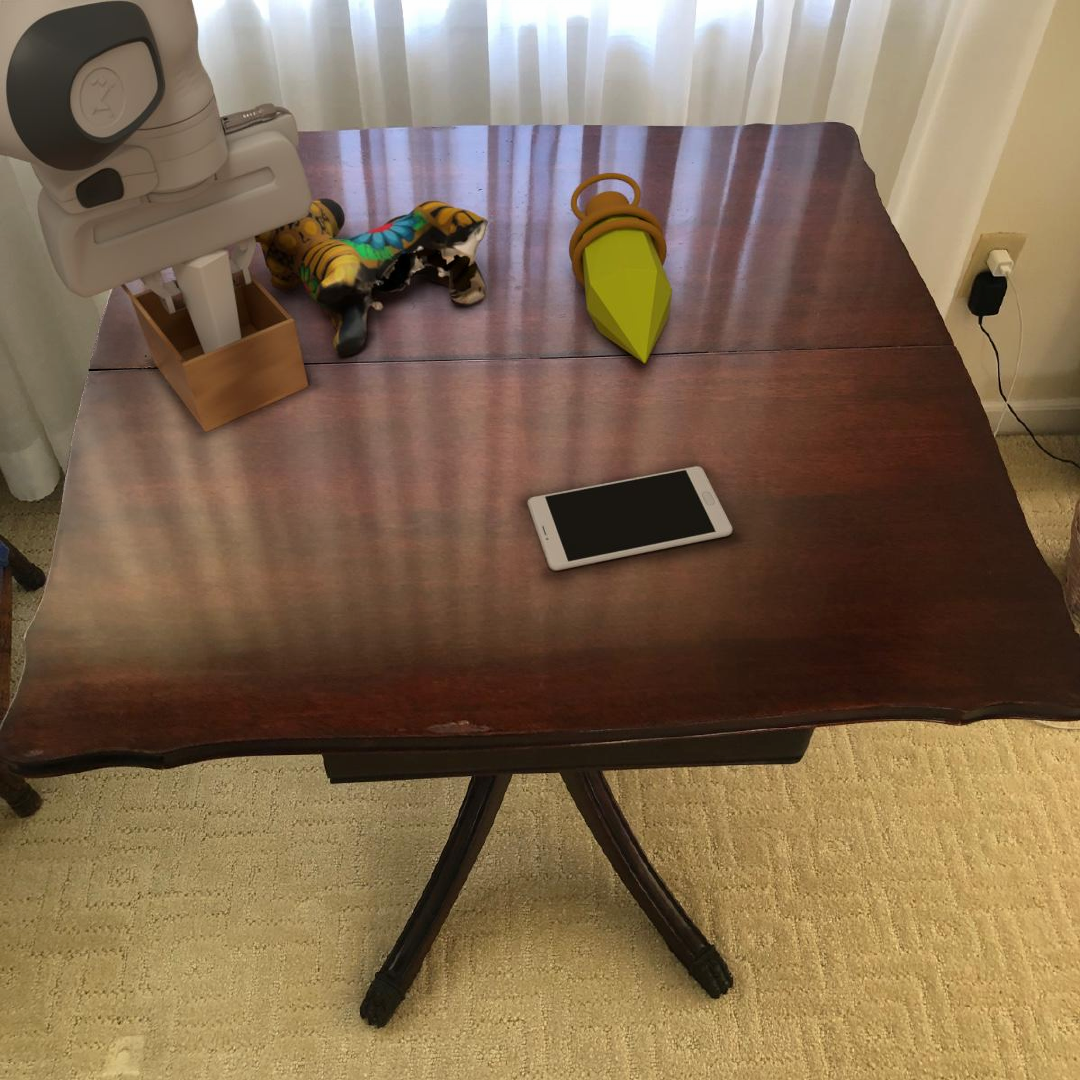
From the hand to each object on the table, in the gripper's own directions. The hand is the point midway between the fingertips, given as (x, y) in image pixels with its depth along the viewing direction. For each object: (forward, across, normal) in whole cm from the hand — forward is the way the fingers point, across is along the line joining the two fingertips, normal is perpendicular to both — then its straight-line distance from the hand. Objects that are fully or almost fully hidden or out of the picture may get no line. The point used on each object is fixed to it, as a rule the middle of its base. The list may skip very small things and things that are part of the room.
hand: (207, 295), depth 82 cm
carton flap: (-2, +5, 0) cm, 6 cm away
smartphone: (+9, -18, +34) cm, 39 cm away
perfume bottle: (+8, 0, 0) cm, 8 cm away
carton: (+9, 0, 0) cm, 9 cm away
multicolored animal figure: (+9, -16, -3) cm, 19 cm away
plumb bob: (+9, -35, +12) cm, 38 cm away
